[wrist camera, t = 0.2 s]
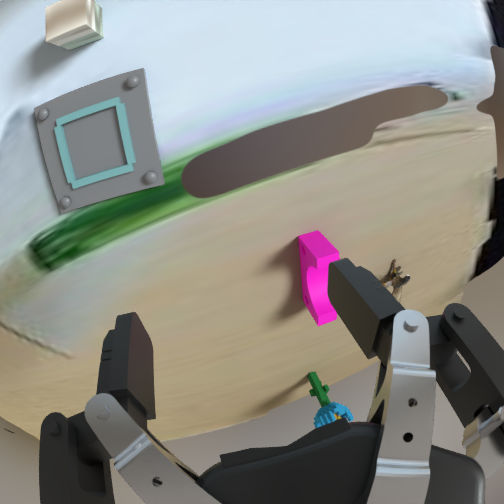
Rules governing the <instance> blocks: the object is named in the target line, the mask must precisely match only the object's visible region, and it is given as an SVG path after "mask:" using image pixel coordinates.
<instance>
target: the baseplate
mask: <svg viewBox="0 0 504 504" xmlns="http://www.w3.org/2000/svg"><path fill="white" fill-rule="evenodd" d="M34 111H35V116H36V122H37V127H38V132H39V137H40V141H41V146H42V150H43V154H44V158H45V162H46V165H47V169H48V173H49V176H50V180H51V183H52V186H53V189H54V193H55V196H56V199H57V202H58V205H59V208H60V210H61V213H64V212H67V211H71V210H74V209H77V208H80V207H83V206H86V205H90V204H93V203H96V202H100V201H103V200H106V199H110V198H113V197H117V196H121V195H124V194H128V193H132V192H136V191H139V190H143V189H147V188H151V187H156V186H160V185H164V183H165V180H164V176H163V171H162V166H161V161H160V156H159V152H158V146H157V141H156V136H155V131H154V125H153V119H152V114H151V108H150V101H149V95H148V89H147V82H146V75H145V69H144V68H142V69H138V70H134V71H130V72H127V73H123V74H120V75H117V76H113V77H110V78H107V79H104V80H101V81H98V82H95V83H92V84H90V85H87V86H84V87H81V88H79V89H76V90H74V91H71V92H69V93H66V94H64V95H62V96H59V97H57V98H55V99H53V100H50V101H48V102H46V103H44V104H42V105H40V106H38V107H36V108H34Z"/></svg>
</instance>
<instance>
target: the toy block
mask: <svg viewBox="0 0 504 504" xmlns="http://www.w3.org/2000/svg"><path fill="white" fill-rule="evenodd" d="M298 241H299V252H300V264H301V277H302V291H303V302H304V303H305V305H306V307H307V308H308V310H309V312H310V313H311V315H312V317H313V318H314V320H315V322H316V323H317V325H318V326H320V325H323V324H326V323H328V322H331V321H334V320H336V319H337V312H336V311H335V309H334V308H333V306H332V305H331V303H330V301H329V298H328V293H327V286H328V266H329V263H330V262H333V261H337V260H340V258H339V251H338V250H337V249H336V248H335V247H334V246H333V245H332V244H331V243H330V242H329V241H328V240H327V239H326V238H325V237H324V236H323V235H322V234H321V233H320V232H319V231H314V232H311V233H307V234H303V235H300V236H298Z"/></svg>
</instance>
